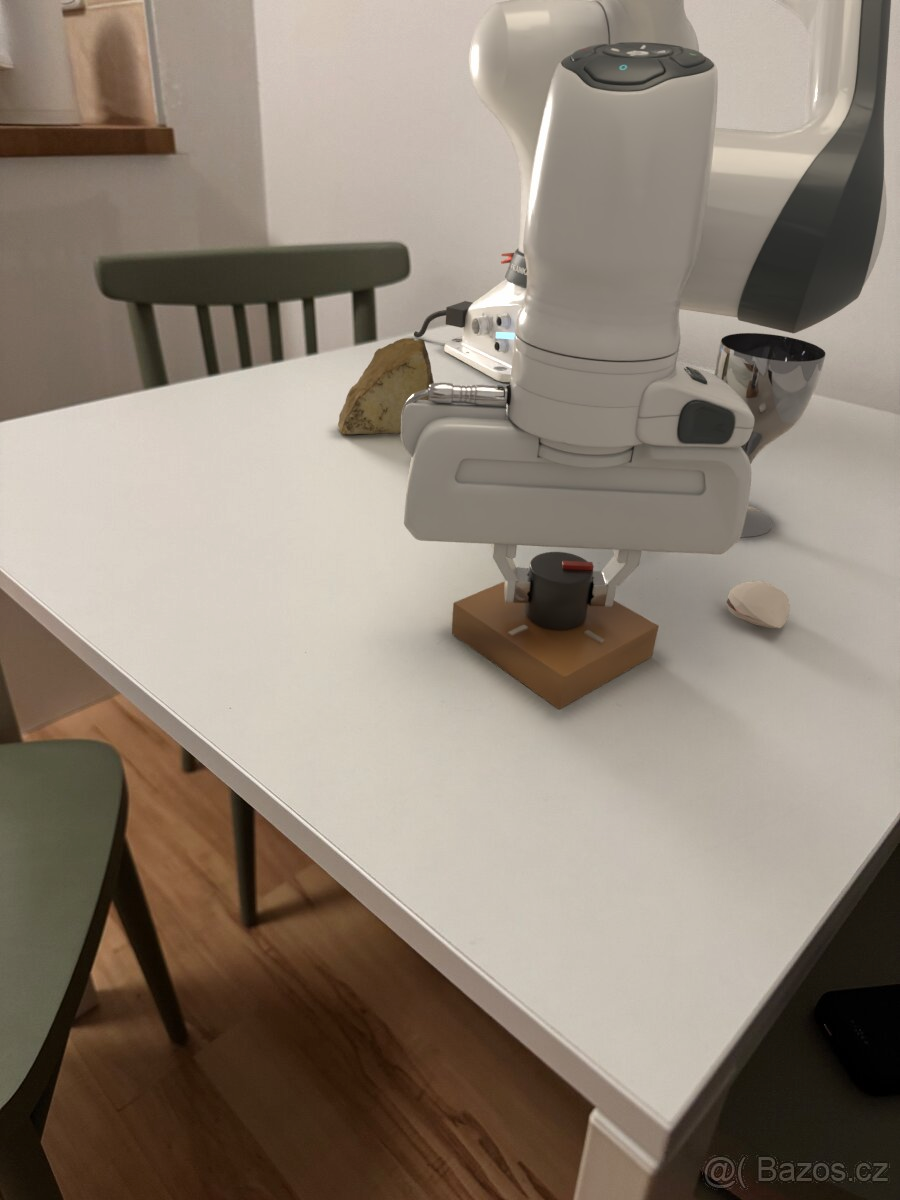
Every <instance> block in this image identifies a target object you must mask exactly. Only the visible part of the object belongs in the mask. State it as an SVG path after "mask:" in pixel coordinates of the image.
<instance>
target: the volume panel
mask: <svg viewBox="0 0 900 1200" xmlns="http://www.w3.org/2000/svg"><path fill="white" fill-rule="evenodd" d="M504 584H505V580H504V581H502V582H500V583H497V584H495V585H492V586H489V587H487V588H485V589H482V590H480V591H478V592H475V593H473V594H471V595H469V596H467V597H464V598H461V599H458V600H456V601H454V602H453V603H452V604H453V605H452V619H451V620H452V621H451V634H452V635H453V636H454V637H456V638H457V639H459V640H460V641H461V642H463V643H464V644H465V645H467V646H468V647H470V648H471V649H473V650H474V651H476V652H477V653H479V655H481V656H483V657H484V658H486V659H487V660H488V661H490V662H491V663H493V664H494V665H496V666H497V667H498V668H500V669H501V670H503V671H504V672H505V673H507V674H508V675H510V676H511V677H513V678H514V679H516V680H517V681H518V682H520V683H521V684H522V685H524V686H525V687H527V688H528V689H530V690H531V691H532V692H534V693H535V694H537V695H539V697H541V698H542V699H544V700H545V701H547V702H548V703H549V704H550V705H552V706H554V707H555V708H556V709H558V710H561V709H563V708H564V707H566V706H568V705H569V704H572V703H573V702H575V701H576V700H578V699H580V698H582V697H584V696H585V695H587V694H589V693H591V692H592V691H595V690H596V689H598V688H599V687H601V686H603V685H605V684H606V683H608V682H610V681H612V680H613V679H615V678H618V677H619V676H621V675H622V674H624V673H626V672H628V671H629V670H631V669H632V668H635V667H636V666H639V665H640V664H642V663H643V662H645V661H647V660H648V659H651V658H652V657H653V654H654V649H655V645H656V640H657V636H658V631H659V625H658V624H657V623H655V622H653V621H652V620H650V619H648V618H646V617H644V616H642V615H641V614H639V613H637V612H635V611H634V610H632V609H630V608H628V607H627V606H625V605H623V604H621V603H619V602H618V601H616V600H614V601H613V605H612V607H604V606H589V604H588V608H587V614H586V619H585V621H584V622H583V623H582V624H581V625H580V626H578V627H576V628H573V629H568V630H553V629H547V628H544V627H541V626H539V625H537V624H535V623H533V622H532V621H530V620H529V619H528V617H527V616H526V614H525V603H510V602H505V596H504Z"/></svg>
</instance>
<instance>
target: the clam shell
mask: <svg viewBox="0 0 900 1200" xmlns="http://www.w3.org/2000/svg"><path fill="white" fill-rule="evenodd" d="M790 606H791V605H790V601H789V598H788V595H787V593H786V592H784V591H783V590H782V589H780V588H778V587H777V586H775V585H774V584H772V583H768V582H765V581H756V580H750V581H748V582H741V583H740V584H738V585H735V586H734V587H732V588H731V589H730V591H729V593H728V595H727V600H726V607H727V609H728V611H729V613H731V614H732V615H733V616H735V617H736V618H738V619H741V620H742V621H745V622H747V623H750V624H752V625H756V626H759V627H764V628H765V627H766V628H771V629H781V628H782V627H783V626H784V625H785V624H786V622H787V620H788V618H789V616H790V611H791V607H790Z"/></svg>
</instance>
